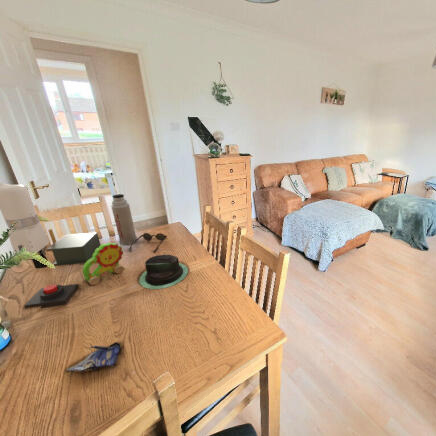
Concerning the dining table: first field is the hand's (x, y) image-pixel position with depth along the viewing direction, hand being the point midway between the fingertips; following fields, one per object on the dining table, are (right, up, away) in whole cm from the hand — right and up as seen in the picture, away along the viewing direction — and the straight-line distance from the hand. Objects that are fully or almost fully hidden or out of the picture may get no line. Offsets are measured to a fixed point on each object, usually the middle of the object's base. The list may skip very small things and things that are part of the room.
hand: (42, 266), depth 88 cm
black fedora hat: (+33, -9, +23) cm, 41 cm away
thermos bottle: (-2, +4, +50) cm, 50 cm away
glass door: (-25, +1, +34) cm, 43 cm away
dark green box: (-16, -1, +34) cm, 37 cm away
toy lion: (+9, -8, +20) cm, 23 cm away
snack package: (+35, -25, -17) cm, 46 cm away
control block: (-1, -14, +5) cm, 15 cm away
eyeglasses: (+12, +2, +46) cm, 48 cm away
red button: (-1, -10, +4) cm, 11 cm away
